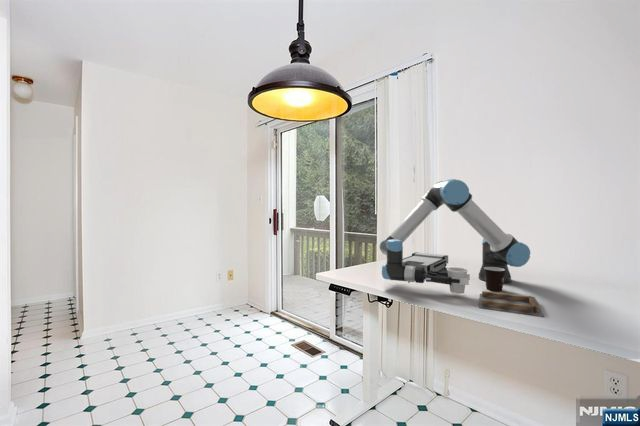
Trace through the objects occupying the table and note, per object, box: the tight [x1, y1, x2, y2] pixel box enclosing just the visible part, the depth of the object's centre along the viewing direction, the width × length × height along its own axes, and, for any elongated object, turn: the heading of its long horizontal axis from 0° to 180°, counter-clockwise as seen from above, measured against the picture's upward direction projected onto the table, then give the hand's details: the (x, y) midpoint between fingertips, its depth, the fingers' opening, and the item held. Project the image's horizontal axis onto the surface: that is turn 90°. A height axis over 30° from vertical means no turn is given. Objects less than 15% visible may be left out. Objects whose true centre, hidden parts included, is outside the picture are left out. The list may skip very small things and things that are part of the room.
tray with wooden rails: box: [478, 290, 545, 318], centre depth 126 cm, size 21×20×2 cm
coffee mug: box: [484, 267, 505, 293], centre depth 147 cm, size 12×9×10 cm
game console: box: [403, 251, 449, 272], centre depth 189 cm, size 21×32×8 cm, turn 141°
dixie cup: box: [446, 267, 469, 295], centre depth 137 cm, size 8×8×10 cm
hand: (469, 279), depth 135 cm, fingers closed on dixie cup, 8 cm apart
